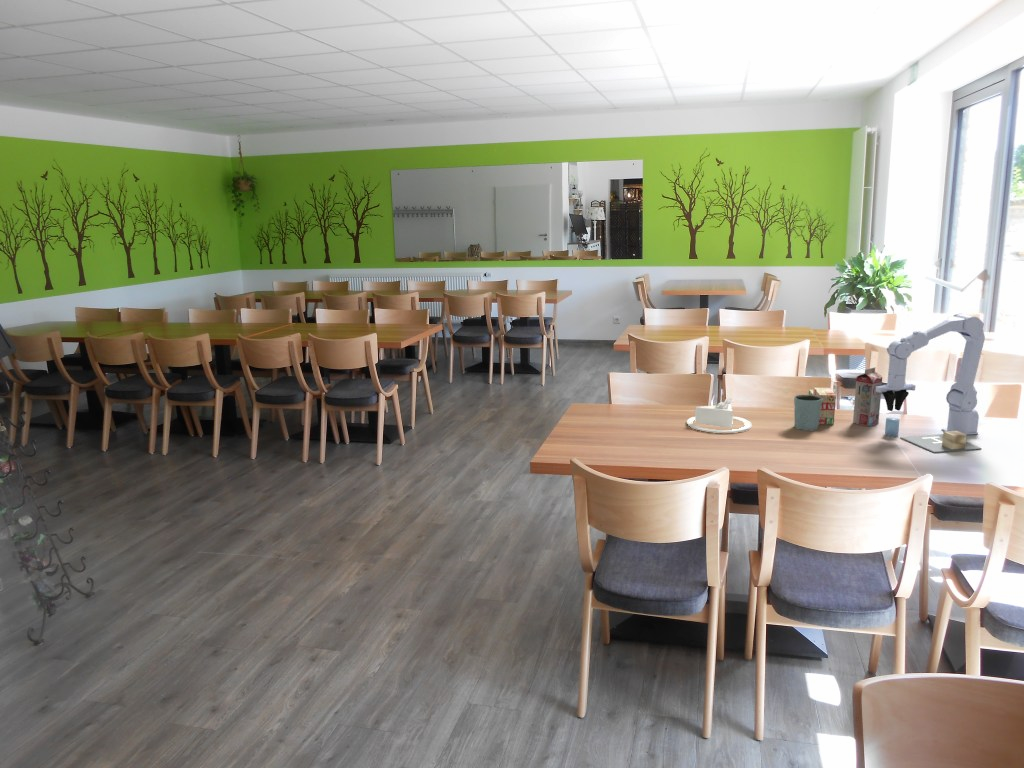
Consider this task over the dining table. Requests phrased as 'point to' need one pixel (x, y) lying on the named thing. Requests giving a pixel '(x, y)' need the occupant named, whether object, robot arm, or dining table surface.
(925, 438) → the letter board
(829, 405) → the stack of blocks
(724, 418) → the dish
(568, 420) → the dining table surface
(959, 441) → the maple block
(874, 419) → the juice carton
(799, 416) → the teal cup
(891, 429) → the blue capsule
